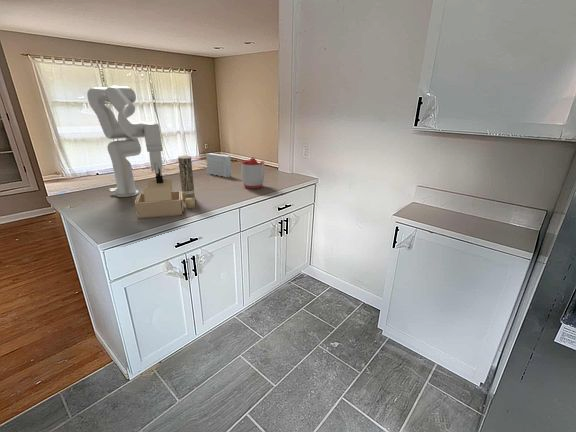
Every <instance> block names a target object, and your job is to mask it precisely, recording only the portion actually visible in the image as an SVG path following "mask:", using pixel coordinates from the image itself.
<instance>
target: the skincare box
mask: <svg viewBox="0 0 576 432" xmlns="http://www.w3.org/2000/svg"><path fill="white" fill-rule="evenodd" d="M205 157H206V173H208V174H207V175H211V174H213V175H212V176H216V175H218V176H217V177H221V176H223V178H226V177H227V178H231V177H232V166H231V156H230V155H225V154H221V153H220V154H218V153H214V152H213V153H212V152H210V153H206V154H205ZM230 176H231V177H230Z"/></svg>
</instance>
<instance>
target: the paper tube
mask: <svg viewBox="0 0 576 432" xmlns="http://www.w3.org/2000/svg"><path fill="white" fill-rule="evenodd" d="M177 160H178V169H179V177H180V187H181V192H182V196H183V201H185V199H186V198H190V197H192V198H194V199H195V197H196V196H195V195H196V194H195V185H194V176H193V164H192V163H193V162H192V156H191V155H179V156H178V157H177Z"/></svg>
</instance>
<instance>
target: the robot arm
mask: <svg viewBox="0 0 576 432" xmlns="http://www.w3.org/2000/svg"><path fill="white" fill-rule="evenodd" d="M86 95H87V96H86V97H87V101H88V103H89V106H90V108H91V110H92V111H93V112H94V114H95V115H96V118H97V119H98V122H99V125H100V127H101V129H102V132H103V134H104V136H105V137H106V139H108V140H114V141H110V142H109V143H108V144H107V147H106V148H107V152H108V154H109V157H110V159H111V164H112V169H113V173H114V178H115V184H116V185H115V186H116V187H115V188H111V187H110V188H109V192H110V193H114V194H115V195H114V196H115V197H118V198H128V197H129V198H130V197H134V196H136V195H137V196H138V195H140V192H139V190H137V189H136V185H135V179H134V173H133V168H132V167H133V166H132V164H131V161H129V160H128V159H127V158H130V157H137V156H139V155H140V154H141V152H142V147H141V143H140V141H139V138H144V139H145V146H146V152H147V153H149V161H150V162H149V163H150V170H151V172H155V180H156V182H157V184H159V183H163V179H164V177H163V172H162V170H163V169H164V168H163V158H162V152H163V151H164V149H163V140H162V135H161V134H162V133H161V127H160V124H159V123H156V122H149V121H136V122H132V121H131V122H130V121H129V120H128V118H130V117H131V116H132V115H134V114H135V111H136V106H135V105H134V103H135V102H136V100H137V94H136V92H135V90H133V88H132V87H129V86H125V85H124V86H123V85H122V86H120V85H119V86H118V85H112V86H108V87H102V86H101V87H100V86H97V87H95V86H94V87H91V88H89V89H88V90H87V93H86ZM106 105H112V106H113V107H114V108H115V110H116V111H117V112H118V114H117V119H116V115H115V113H114V112H113V111H112V109H110V108H109V107H108V106H106Z"/></svg>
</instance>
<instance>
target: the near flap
mask: <svg viewBox="0 0 576 432" xmlns="http://www.w3.org/2000/svg"><path fill="white" fill-rule="evenodd" d="M171 192H172V191H171V187H160V188H148V187H147V188H144V187H143V193H144V198H145V202H152V201H166V200H172V198H171Z"/></svg>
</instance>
